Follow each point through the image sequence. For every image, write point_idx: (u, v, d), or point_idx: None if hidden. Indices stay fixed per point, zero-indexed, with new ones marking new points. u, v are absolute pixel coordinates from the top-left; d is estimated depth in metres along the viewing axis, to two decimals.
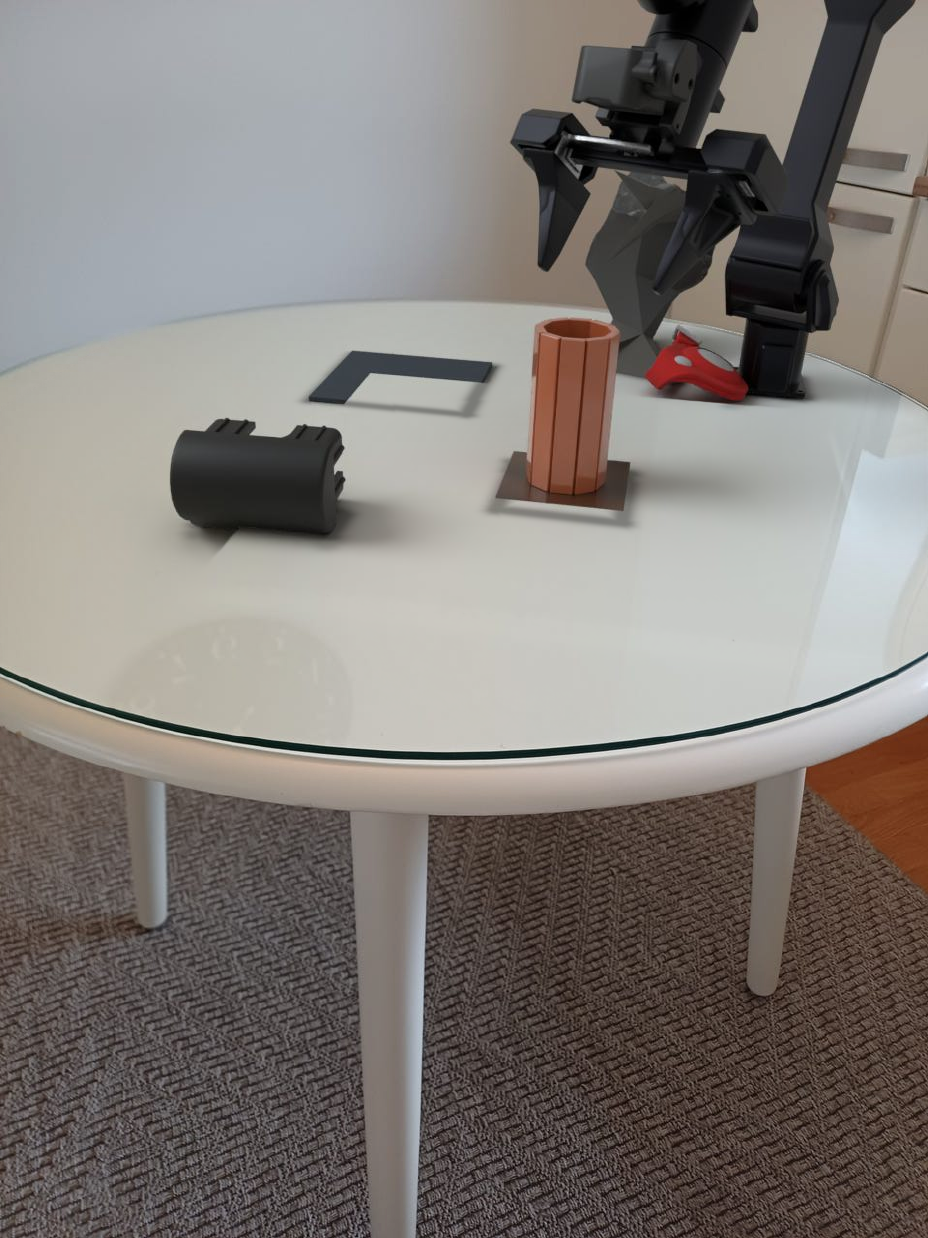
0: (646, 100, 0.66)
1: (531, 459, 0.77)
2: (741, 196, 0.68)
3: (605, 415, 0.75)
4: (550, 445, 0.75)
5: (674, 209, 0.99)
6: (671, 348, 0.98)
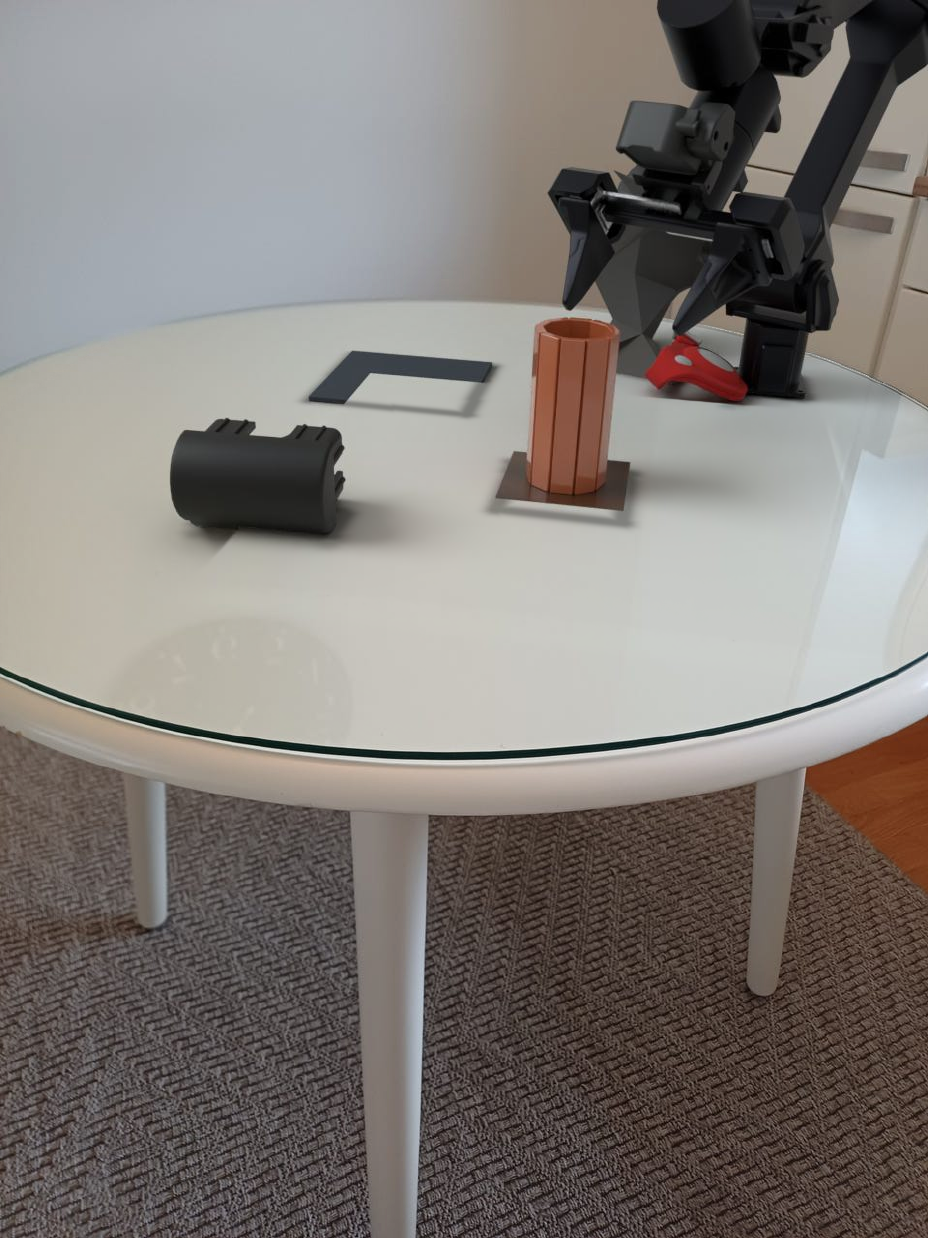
0: (685, 154, 0.72)
1: (531, 459, 0.77)
2: (762, 252, 0.73)
3: (605, 415, 0.75)
4: (550, 445, 0.75)
5: None
6: (671, 347, 0.98)
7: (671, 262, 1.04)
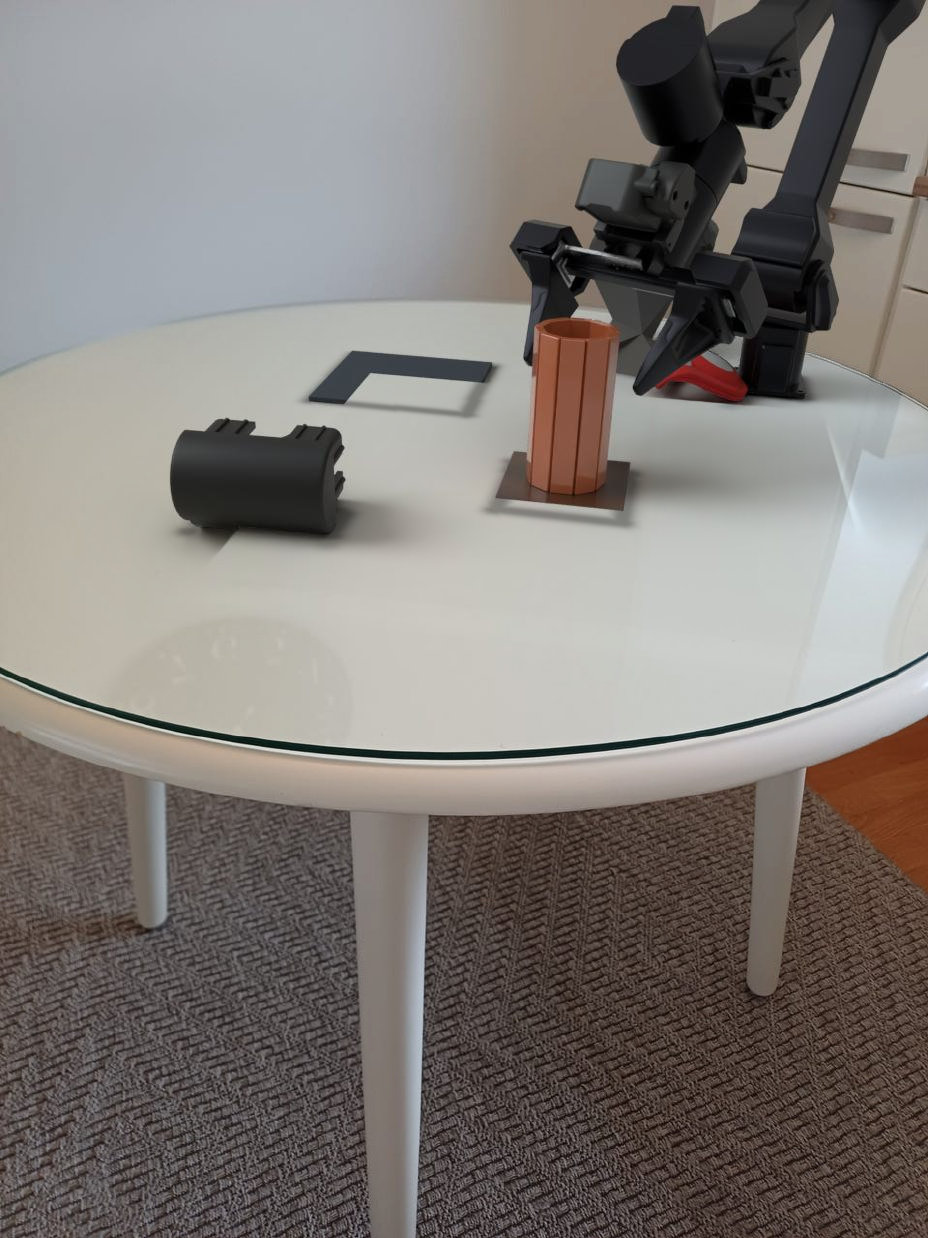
0: (644, 213, 0.71)
1: (531, 459, 0.77)
2: (724, 312, 0.72)
3: (605, 415, 0.75)
4: (550, 445, 0.75)
5: None
6: None
7: None
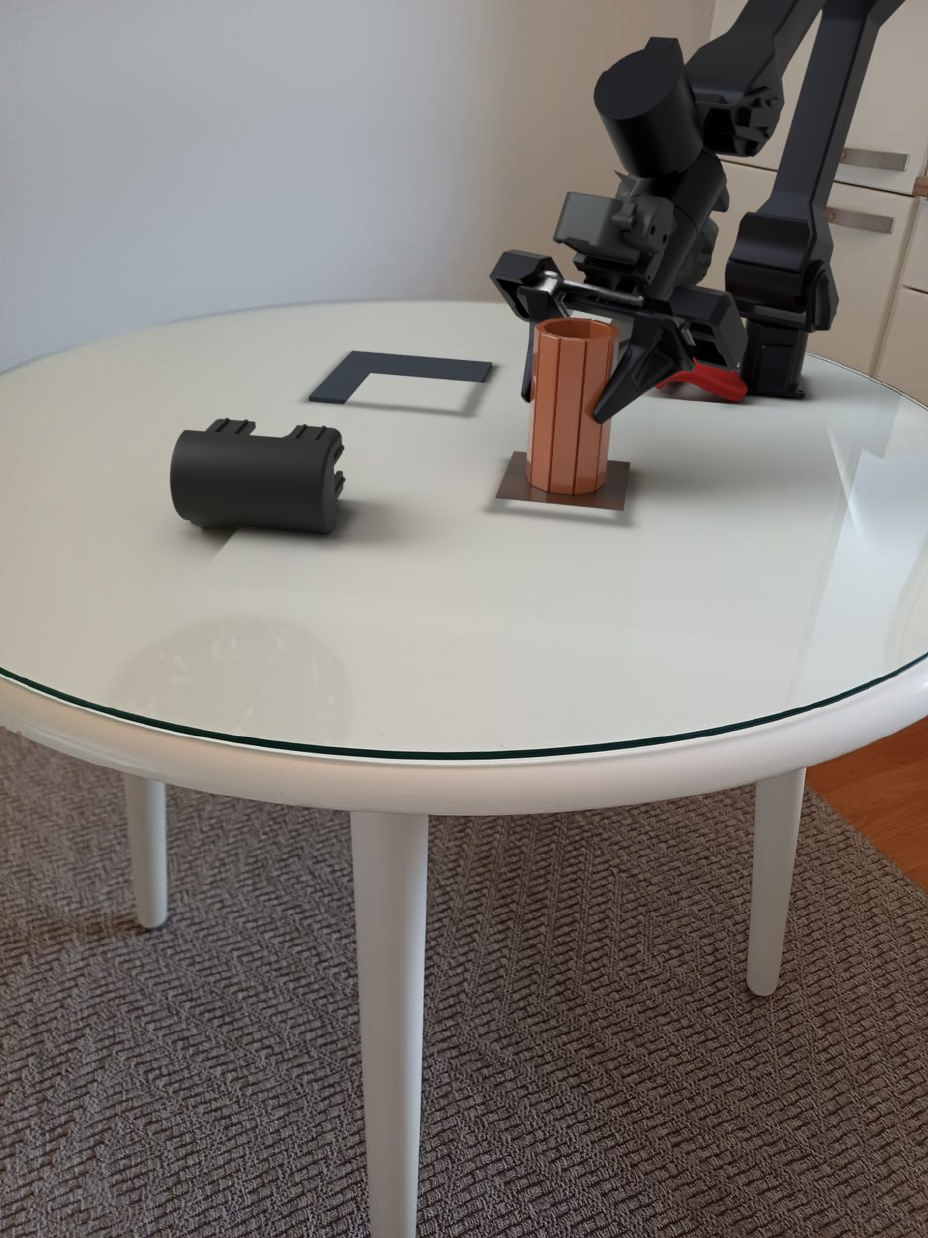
0: (622, 247, 0.70)
1: (531, 459, 0.77)
2: (682, 341, 0.72)
3: None
4: (550, 445, 0.75)
5: None
6: None
7: None
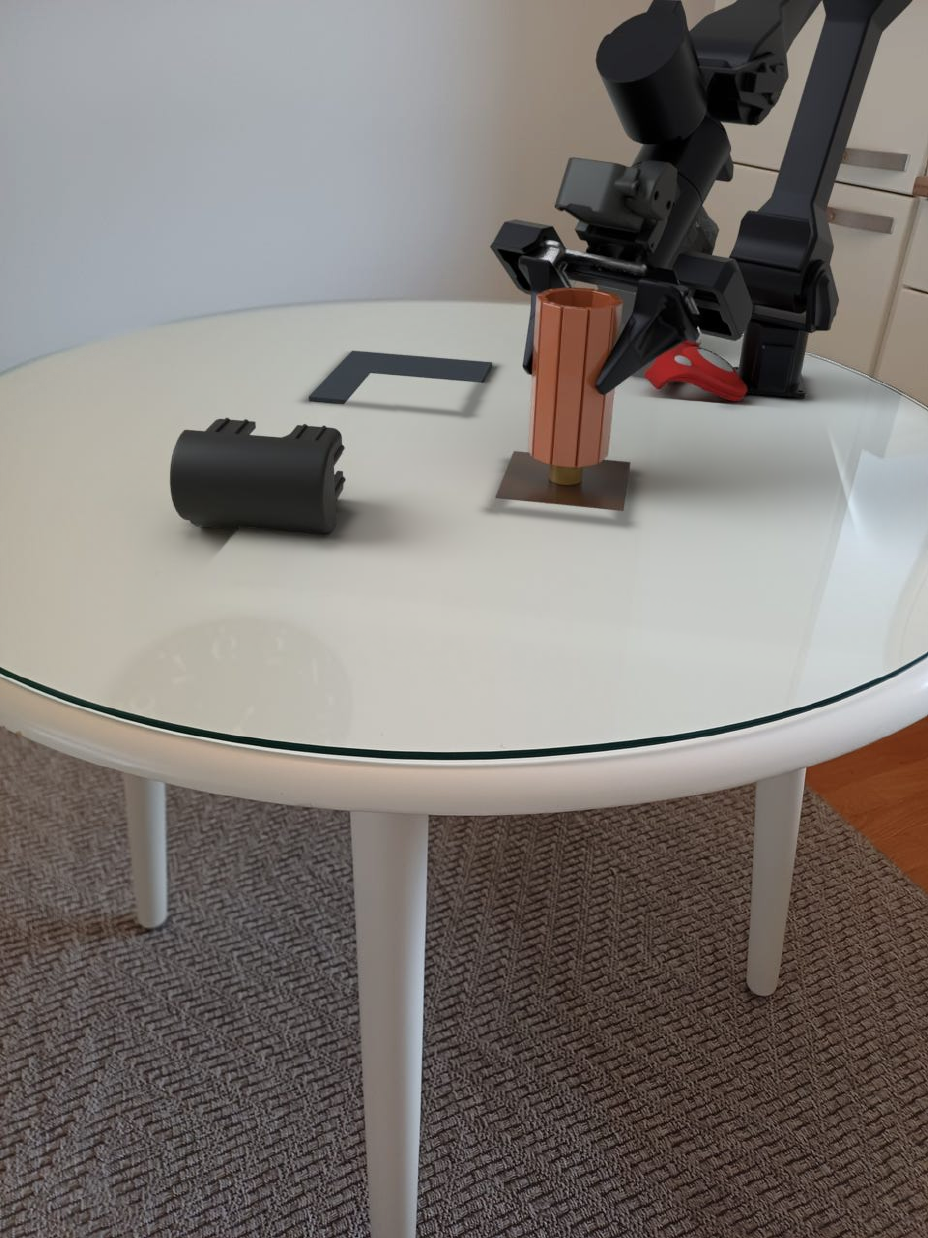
0: (625, 213, 0.69)
1: (533, 432, 0.76)
2: (686, 310, 0.71)
3: None
4: (552, 417, 0.74)
5: None
6: None
7: None
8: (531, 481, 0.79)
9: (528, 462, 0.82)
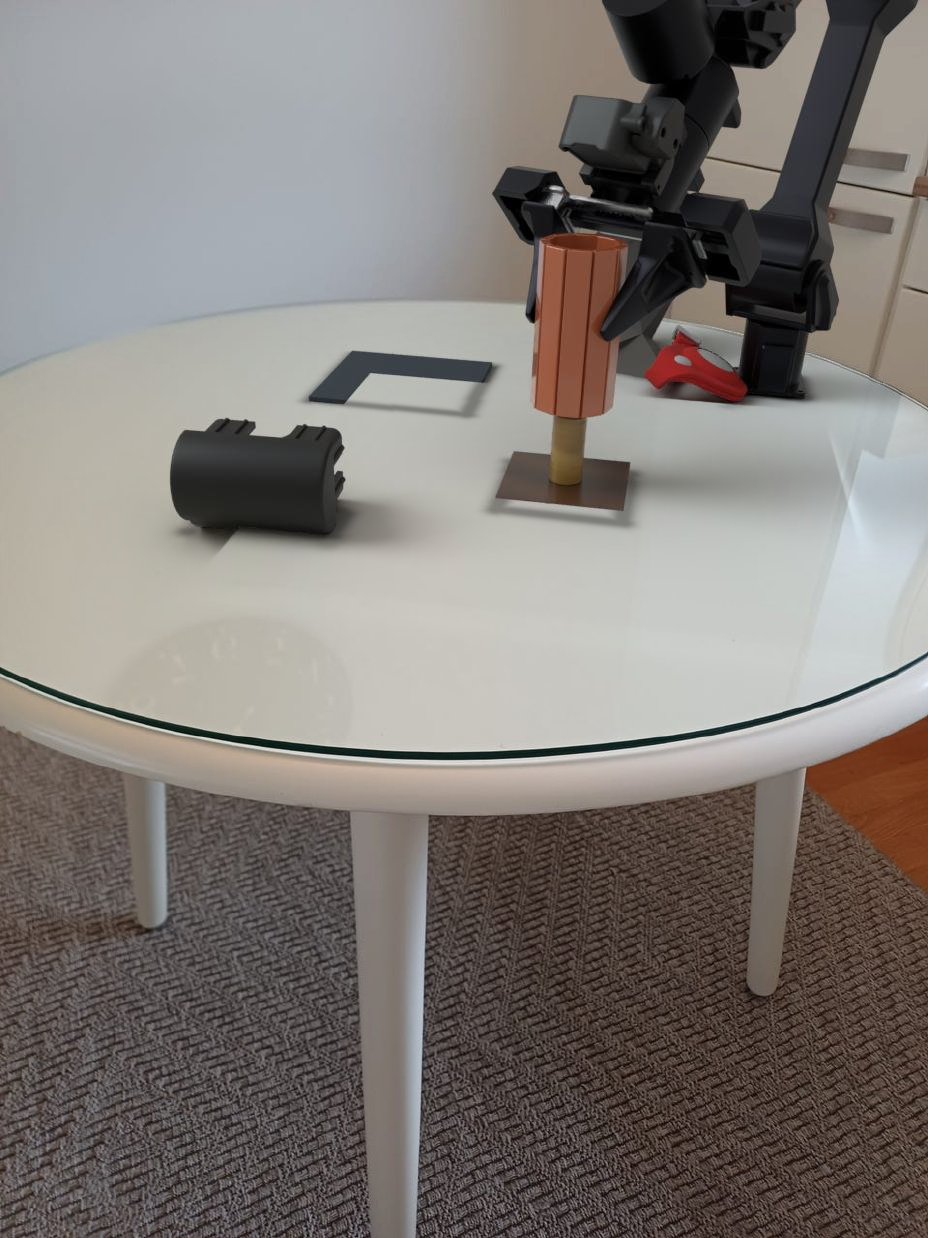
0: (631, 152, 0.67)
1: (536, 382, 0.74)
2: (694, 253, 0.69)
3: None
4: (556, 365, 0.72)
5: None
6: (671, 348, 0.98)
7: None
8: (531, 481, 0.79)
9: (528, 462, 0.82)
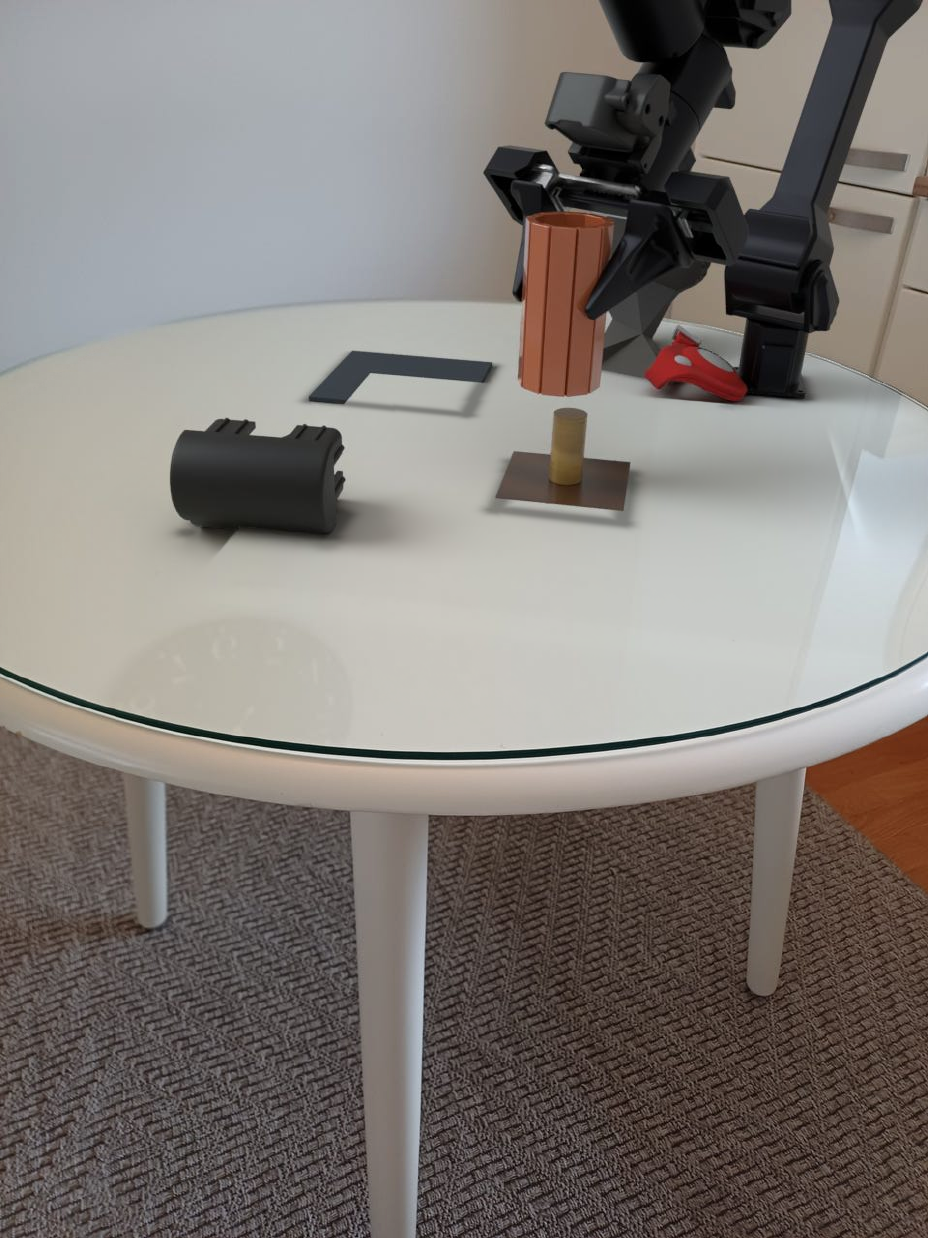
0: (616, 129, 0.67)
1: (522, 360, 0.75)
2: (679, 231, 0.69)
3: None
4: (541, 343, 0.73)
5: None
6: (671, 348, 0.98)
7: None
8: (531, 481, 0.79)
9: (528, 462, 0.82)
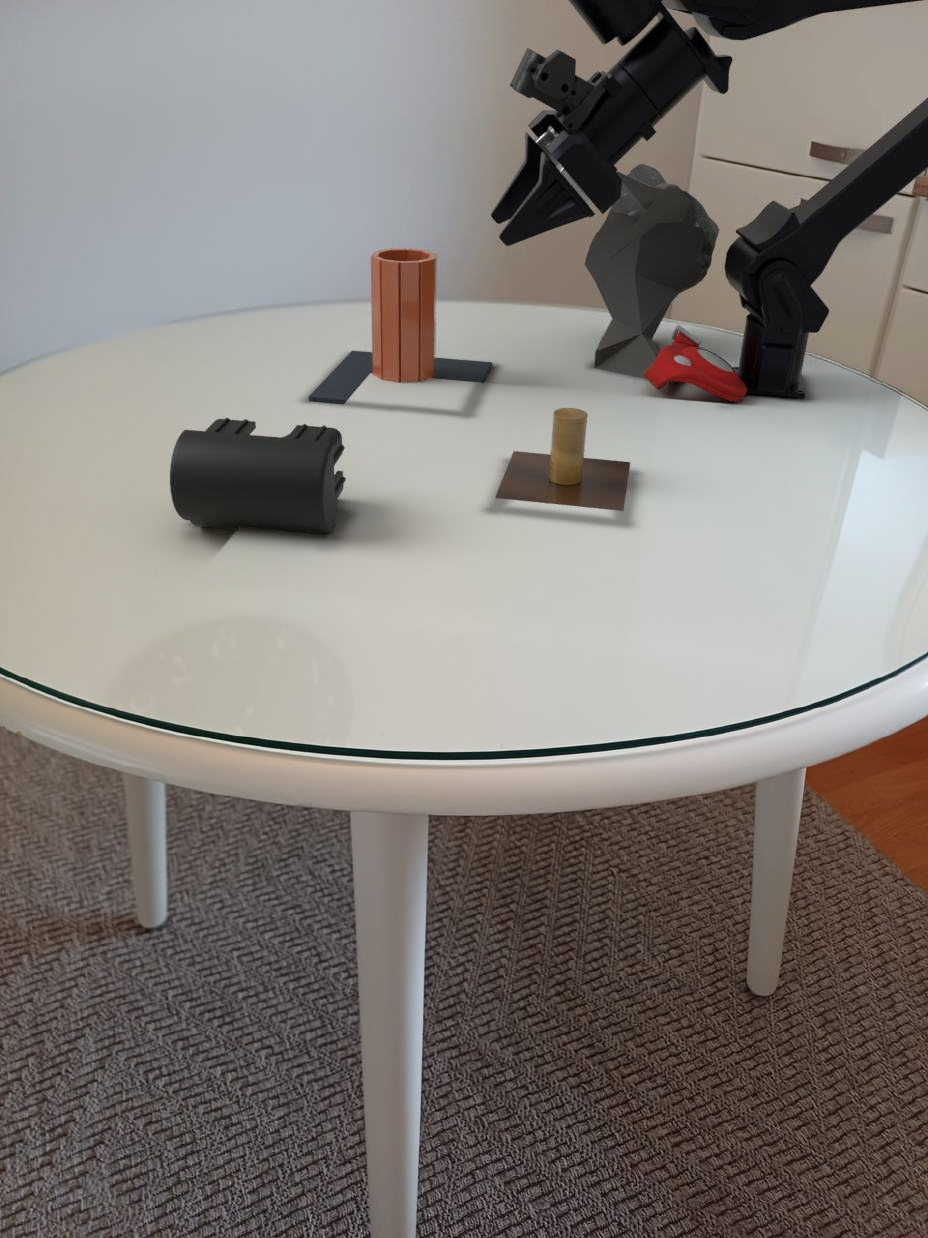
0: (535, 92, 0.86)
1: None
2: (564, 182, 0.84)
3: (404, 326, 0.95)
4: (372, 341, 0.98)
5: (674, 210, 0.99)
6: (671, 348, 0.98)
7: (671, 263, 1.04)
8: (531, 481, 0.79)
9: (528, 462, 0.82)
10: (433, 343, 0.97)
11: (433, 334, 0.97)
